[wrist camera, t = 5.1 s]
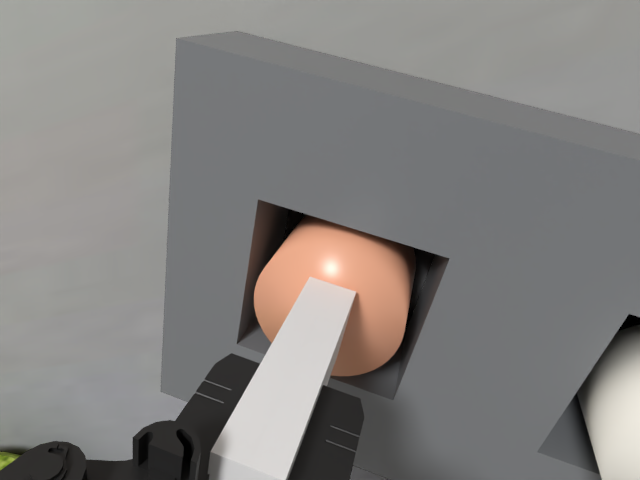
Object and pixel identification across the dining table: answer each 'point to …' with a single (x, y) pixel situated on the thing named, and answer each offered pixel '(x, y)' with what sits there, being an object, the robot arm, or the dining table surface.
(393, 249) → the peach rounded knob
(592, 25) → the dining table surface
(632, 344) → the cream button
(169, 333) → the button console
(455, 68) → the dining table surface
